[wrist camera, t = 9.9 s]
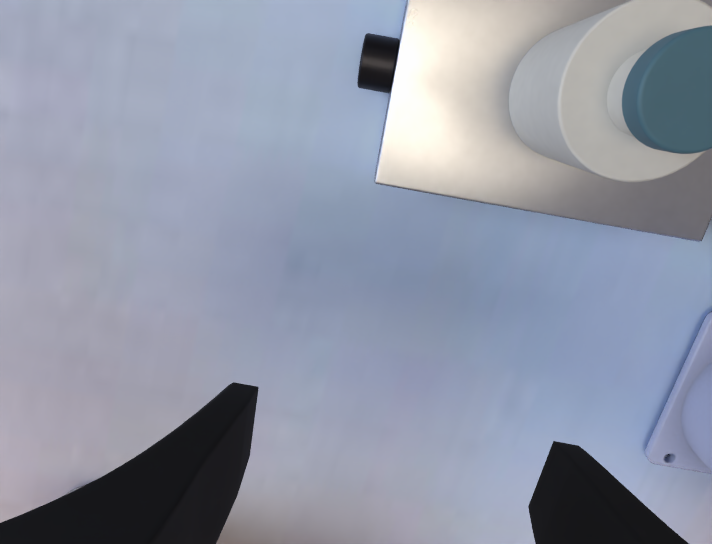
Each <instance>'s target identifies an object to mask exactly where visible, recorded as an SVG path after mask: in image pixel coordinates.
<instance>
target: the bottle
mask: <svg viewBox="0 0 712 544" xmlns="http://www.w3.org/2000/svg"><path fill="white" fill-rule="evenodd" d="M509 112H510V118H511V121H512V124H513V127H514V129H515V131H516V133H517V134H518V136H519V137H520V139H521V140H522V141H523V142H524V143H525V144H526V145H527V146H528V147H529V148H530V149H532V150H533V151H535V152H536V153H538V154H540V155H542V156H545V157H547V158H550V159H553V160H556V161H559V162H561V163H564V164H567V165H570V166H573V167H576V168H578V169H581V170H584V171H587V172H590V173H593V174H595V175H598V176H601V177H604V178H607V179H611V180H615V181H621V182H643V181H650V180H654V179H658V178H662V177H664V176H667V175H669V174H672V173H674V172H676V171H678V170H680V169H682V168H684V167H686V166H687V165H689V164H690V163H691V162H693V161H694V160H696V159H697V158H698V157H699V156H701V155H702V154H703V153H704V152H705V151H706V150H709V149H711V148H712V7H711V6H709V5H708V4H706V3H705V2H702V1H700V0H631V1H628V2H626V3H623V4H621V5H618V6H616V7H613V8H611V9H608V10H606V11H603V12H601V13H598V14H596V15H593V16H591V17H588V18H586V19H584V20H581V21H579V22H576V23H574V24H571V25H569V26H566V27H564V28H561V29H559V30H556V31H554V32H552V33H550V34H549V35H547V36H545V37H544V38H542V39H541V40H540V41H539V42H537V43H536V44H535V45H534V46H533V47H532V48H531V49H530V50H529V51H528V52H527V54H526V55H525V56H524V57H523V59H522V60H521V62H520V64H519V65H518V67H517V69H516V71H515V74H514V76H513V79H512V82H511V86H510V91H509Z"/></svg>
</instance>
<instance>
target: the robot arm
mask: <svg viewBox="0 0 712 544" xmlns="http://www.w3.org/2000/svg"><path fill="white" fill-rule="evenodd" d="M257 395H258V387H256V386H250V385H245V384H239V383H234V382H233V383H232V384H230V385H229V386H227V387H226V388H225V389H224V390H223V391H222V392H221V393H219V394H218V395H217V396H216V397H215V398H214V399H213V400H211V401H210V402H209V403H208V404H207V405H205V406H204V407H203V408H202V409H201V410H199V411H198V412H197V413H196V414H194V415H193V416H192V417H191V418H189V419H188V420H187V421H185V422H184V423H183V424H182V425H180V426H179V427H178V428H176V429H175V430H174V431H172V432H171V433H170V434H168V435H167V436H165V437H164V438H163V439H161V440H160V441H158V442H157V443H155V444H154V445H152V446H151V447H150V448H148V449H147V450H145V451H144V452H142V453H141V454H139V455H138V456H136V457H135V458H133V459H131V460H130V461H128V462H127V463H125V464H123V465H122V466H120V467H118V468H116V469H115V470H113V471H111V472H110V473H108V474H106V475H104V476H103V477H101V478H99V479H97V480H95V481H93V482H91V483H89V484H87V485H85V486H83V487H81V488H79V489H77V490H75V491H73V492H71V493H69V494H67V495H65V496H62V497H60V498H58V499H56V500H54V501H52V502H50V503H48V504H45V505H43V506H41V507H38V508H36V509H34V510H31V511H29V512H27V513H24V514H22V515H19V516H17V517H14V518H12V519H9V520H7V521H4V522H2V523H0V544H216V542H217V540H218V538H219V536H220V533H221V531H222V529H223V527H224V524H225V522H226V520H227V517H228V515H229V513H230V511H231V508H232V506H233V504H234V502H235V499H236V497H237V494H238V491H239V488H240V485H241V482H242V479H243V476H244V472H245V469H246V466H247V463H248V459H249V456H250V449H251V441H252V433H253V426H254V418H255V410H256V403H257ZM667 454H670V455H669V456H667V457H665V456H666V455H667ZM645 455H646V457H647V458H648V460H649V461H650V462H651V463H654V464H658V465H664V466H669V467H675V468H681V469H686V470H692V471H698V472H703V473H709V474H712V311H711V312H710V313H708V314H707V316H706V317H705V319H704V321H703V324H702V326H701V328H700V330H699V332H698V335H697V337H696V339H695V341H694V343H693V346H692V348H691V350H690V352H689V354H688V357H687V359H686V361H685V363H684V365H683V368H682V370H681V372H680V374H679V376H678V379H677V381H676V383H675V385H674V387H673V390H672V392H671V394H670V396H669V398H668V401H667V403H666V405H665V407H664V409H663V412H662V414H661V416H660V418H659V420H658V423H657V425H656V427H655V429H654V431H653V434H652V436H651V438H650V440H649V442H648V445H647V447H646V449H645ZM528 507H529V513H530V518H531V523H532V529H533V533H534V538H535V542H536V544H688V543H687V542H686V541H685V540H684V539H683V538H681V537H680V536H679V535H678V534H677V533H675V532H674V531H673V530H672V529H671V528H670V527H669V526H667V525H666V524H665V523H664V522H663V521H662V520H661V519H659V518H658V517H657V516H656V515H655V514H654V513H653V512H652V511H651V510H649V509H648V508H647V507H646V506H645V505H644V504H643V503H642V502H641V501H640V500H638V499H637V498H636V497H635V496H634V495H633V494H632V493H631V492H630V491H629V490H628V489H627V488H625V487H624V486H623V485H622V484H621V483H620V482H619V481H618V480H617V479H616V478H615V477H614V476H613V475H611V474H610V473H609V472H608V471H607V470H606V469H605V468H604V467H603V466H602V465H601V464H599V463H598V462H597V461H596V460H595V459H594V458H593V457H592V456H590V455H589V454H588V453H587V452H586V451H584V450H583V449H582V448H581V447H579V446H577V445H572V444H566V443H561V442H555V441H554V442H553V444H552V447H551V449H550V452H549V455H548V457H547V460H546V462H545V465H544V467H543V470H542V473H541V475H540V478H539V480H538V483H537V486H536V488H535V491H534V493H533V496H532V499H531V501H530V504H529V506H528Z"/></svg>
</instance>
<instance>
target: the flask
mask: <svg viewBox="0 0 712 544" xmlns="http://www.w3.org/2000/svg"><path fill="white" fill-rule="evenodd" d="M628 1H631V0H407V1H406V7H405V12H404V18H403V23H402V29H401V34H400V40H399V39H397V38H391V37H386V36H380V35H375V34H369V33H368V34H366V35H365V38H364V43H363V48H362V54H361V60H360V67H359V74H358V87H359V88H363V89H369V90H374V91H380V92H385V93H390V95H389V100H388V106H387V111H386V117H385V122H384V128H383V133H382V139H381V144H380V150H379V155H378V161H377V166H376V172H375V183H376V184H381V185H386V186H392V187H397V188H403V189H408V190H414V191H420V192H425V193H431V194H436V195H442V196H447V197H453V198H459V199H464V200H470V201H475V202H481V203H486V204H492V205H498V206H503V207H509V208H514V209H520V210H525V211H531V212H537V213H542V214H548V215H553V216H559V217H564V218H570V219H576V220H581V221H587V222H592V223H598V224H603V225H609V226H615V227H620V228H626V229H631V230H637V231H642V232H648V233H654V234H659V235H665V236H670V237H676V238H681V239H687V240H693V241H698V242H699V241H702V239H703V236H704V234H705V232H706V229H707V227H708V225H709V222H710V220H711V218H712V148H711V149H709V150H706V151H705V152H704V153H703V154H702V155H701V156H699V157H698V158H697V159H696V160H694V161H693V162H691V163H690V164H689V165H687V166H686V167H684V168H682V169H680V170H678V171H676V172H674V173H672V174H669V175H667V176H664V177H662V178H658V179H654V180H650V181H643V182H621V181H615V180H611V179H607V178H604V177H601V176H598V175H595V174H593V173H590V172H587V171H584V170H581V169H578V168H576V167H573V166H570V165H567V164H564V163H561V162H559V161H556V160H553V159H550V158H547V157H545V156H542V155H540V154H538V153H536V152H535V151H533V150H532V149H530V148H529V147H528V146H527V145H526V144H525V143H524V142H523V141H522V140H521V139H520V137H519V136H518V134H517V133H516V131H515V129H514V127H513V124H512V121H511V118H510V112H509V91H510V86H511V82H512V79H513V76H514V74H515V71H516V69H517V67H518V65H519V64H520V62H521V60H522V59H523V57H524V56H525V55H526V54H527V52H528V51H529V50H530V49H531V48H532V47H533V46H534V45H535V44H536V43H537V42H539V41H540V40H541V39H542V38H544V37H545V36H547V35H549V34H550V33H552V32H554V31H556V30H559V29H561V28H564V27H566V26H569V25H571V24H574V23H576V22H579V21H581V20H584V19H586V18H588V17H591V16H593V15H596V14H598V13H601V12H603V11H606V10H608V9H611V8H613V7H616V6H618V5H621V4H623V3H626V2H628ZM700 1H702V2H705V3H706V4H708V5H709V6H711V7H712V0H700Z"/></svg>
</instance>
